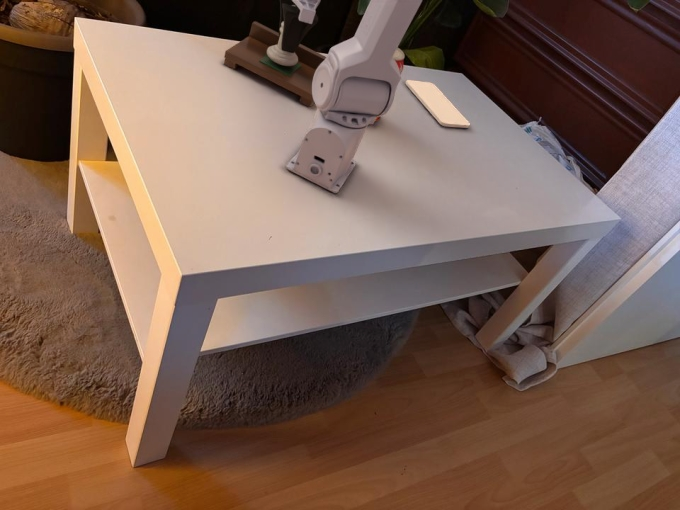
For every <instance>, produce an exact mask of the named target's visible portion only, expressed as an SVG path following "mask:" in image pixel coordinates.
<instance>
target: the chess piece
mask: <svg viewBox="0 0 680 510" xmlns="http://www.w3.org/2000/svg"><path fill="white" fill-rule="evenodd" d="M292 6H296V5H292ZM281 26H282V27H281V28H280V32H281V34H280V38H279V41H278V44H277V45H274V46H270V47H269V48H268V49H267V55H268V57H269V58H270V59H271V60H273V61H274V62H276V63H278V64H281V65H284V66H293V65H295V64H297V62H298V57H297V55H296V54H295V52H294V53H290V52H286V51H282V49H281V42H282V35H283V28H284V21H283V22H282V23H281Z"/></svg>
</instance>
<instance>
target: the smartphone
mask: <svg viewBox="0 0 680 510" xmlns="http://www.w3.org/2000/svg"><path fill="white" fill-rule="evenodd" d="M405 85H406V87H407V88H408V89H409V90H410V91H411V92H412V93H413V95H414V96H415V97H416V98H417V99H418V101H420V103H421V104H422V105H423V107H425V108H426V110H427V112H429V113H430V114H431V115H432V117H433V118H434V119H435V120H436V121H437V122H438V123H439V125H441V126H443V127H447V128H448V127H450V128H462V129H463V128H465V129H467V128H470V126H471V123H470V121H469V120H468V119H467V118H466V117H465V116H464V115H463V114H462V113H461V112H460V110H458V108H456V107H455V105H454V104H453V103H452V102H451V101H450V100H449V99H448V98H447V97H446V95H445V94H444V93H443V92H442V91H441V90H440V89H439V87H437V86H436V84H435V83H432V82H429V81H422V80H421V81H420V80H413V79H412V80H411V79H406V81H405Z"/></svg>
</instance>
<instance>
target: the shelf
mask: <svg viewBox="0 0 680 510" xmlns="http://www.w3.org/2000/svg"><path fill="white" fill-rule="evenodd" d="M278 41H279V31H278V32H277V31H276V30H274V29H272V28H270V27H267V26H266V25H263V24H262V23H260V22H258V21H256V20H255V21H253V22H252V23H251V27H250V31H249V34H248V36H247V37H245V38H243V39H242V40H240V41H239V42H237V43H236V44H234V45H233V46H231V47H230V48H228V49H226V50H225V52H224V56H223V58H224V61H223V64H224V65H226V66H227V67H229V68H231V69H234V70H235V69H237V68H238V67H242V68H244V69H247V70H248V71H250V72H252V73H254V74H256V75H257V76H260V77H262V78H264V79H266V80H268V81H269V82H271V83H274V84H276V85H277V86H280V87H282V88H283V89H286V90H287V91H289V92H292V93H293V94H296V95H297V96H299V97H300V99H299V103H301V104H303V105H305V106H307V107H308V108H311V107H312V106H313V105H314V104H315V102H314V100H313V96H312V82H313V77H314V74H315V71H316V69H317V68H318V67H319V65H320V64H321V63H322V62H323V61H324V60H325V59H326V57H327V56H326V55H323V54H322V53H319V52H317V51H315V50H313V49H312V48H309V47H307V46H306V45H303V44H301V43H300V44H299V46H298V48H297V49H296V51H295V54H296V55H297V57H298V62H297V64H295V65H293V66H284V65H281V64H278V63H276V62H274V61H273V60H271V59H270V58H269V57H268V55H267V49H268V48H269V47H270V46H274V45H277V44H278Z"/></svg>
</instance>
